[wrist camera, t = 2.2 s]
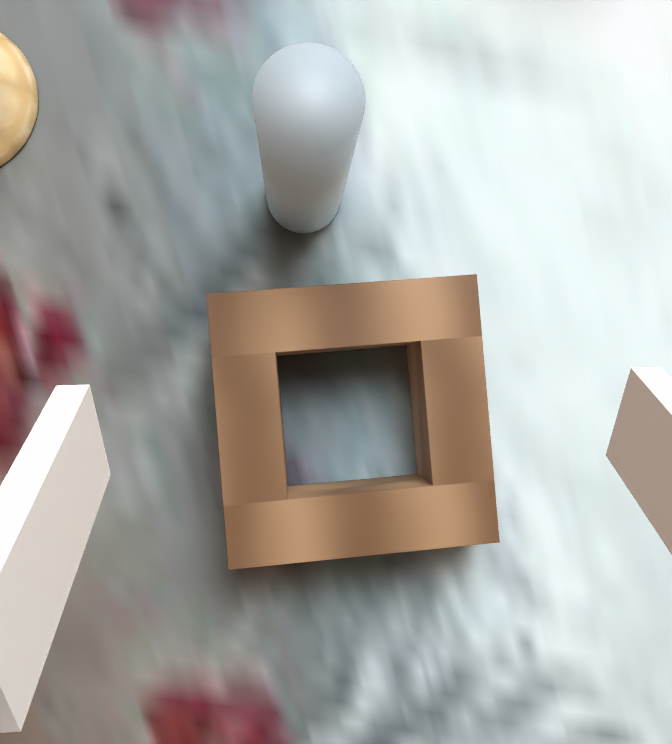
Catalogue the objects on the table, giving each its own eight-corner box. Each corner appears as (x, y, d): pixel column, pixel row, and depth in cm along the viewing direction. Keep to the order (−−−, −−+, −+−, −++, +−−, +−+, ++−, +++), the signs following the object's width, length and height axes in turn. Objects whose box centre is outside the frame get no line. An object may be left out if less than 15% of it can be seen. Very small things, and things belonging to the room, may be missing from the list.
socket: (455, 286, 35) (476, 274, 31) (475, 524, 35) (499, 542, 31) (216, 304, 34) (206, 293, 30) (235, 547, 34) (228, 569, 30)
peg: (354, 184, 35) (385, 80, 23) (316, 247, 35) (329, 175, 23) (290, 145, 35) (288, 21, 23) (252, 208, 35) (231, 116, 23)
